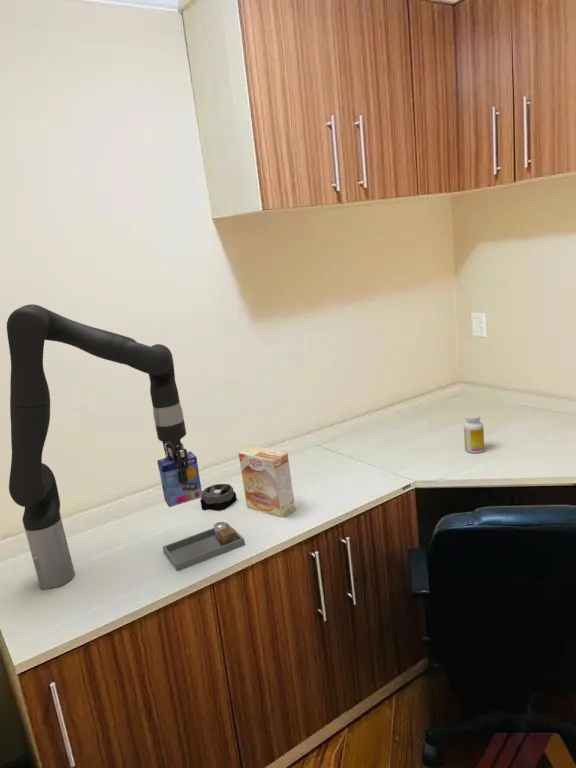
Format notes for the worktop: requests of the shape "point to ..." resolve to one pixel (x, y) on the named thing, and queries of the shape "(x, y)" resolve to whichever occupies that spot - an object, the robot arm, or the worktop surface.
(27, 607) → the worktop surface
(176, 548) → the parts tray
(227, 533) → the walnut block part
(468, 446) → the supplement bottle
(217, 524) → the metal ball part
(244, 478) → the coffeecake box
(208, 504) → the cpu cooler
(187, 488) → the ink cartridge box
